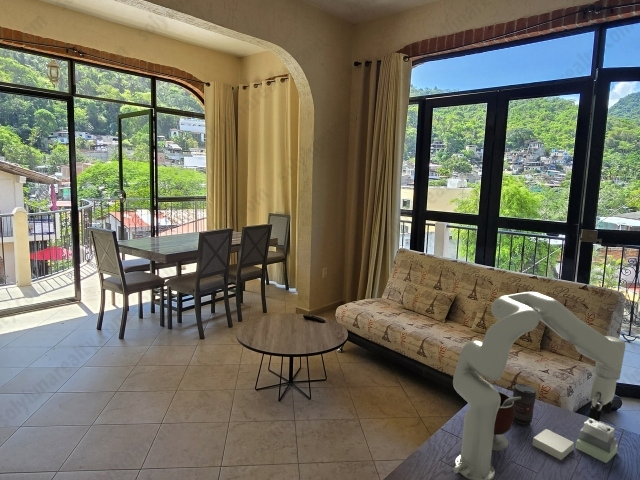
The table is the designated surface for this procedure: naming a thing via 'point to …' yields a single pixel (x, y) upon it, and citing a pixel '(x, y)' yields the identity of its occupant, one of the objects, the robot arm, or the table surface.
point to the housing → (598, 435)
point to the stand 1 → (553, 444)
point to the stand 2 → (595, 451)
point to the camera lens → (523, 404)
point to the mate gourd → (503, 421)
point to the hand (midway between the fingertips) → (599, 415)
